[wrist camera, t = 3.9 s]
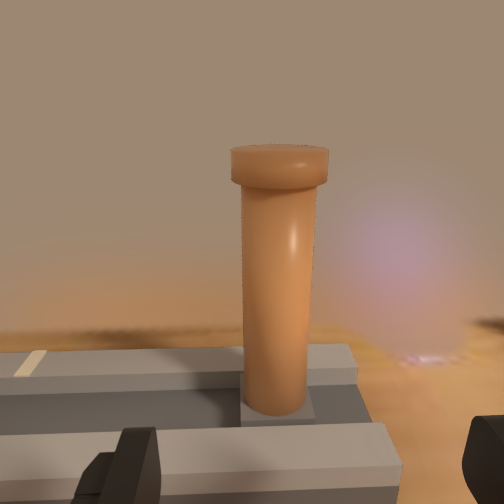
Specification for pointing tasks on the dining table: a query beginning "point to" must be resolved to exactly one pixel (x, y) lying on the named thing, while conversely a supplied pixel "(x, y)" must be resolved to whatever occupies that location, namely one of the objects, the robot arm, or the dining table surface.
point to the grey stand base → (188, 428)
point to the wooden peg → (277, 278)
